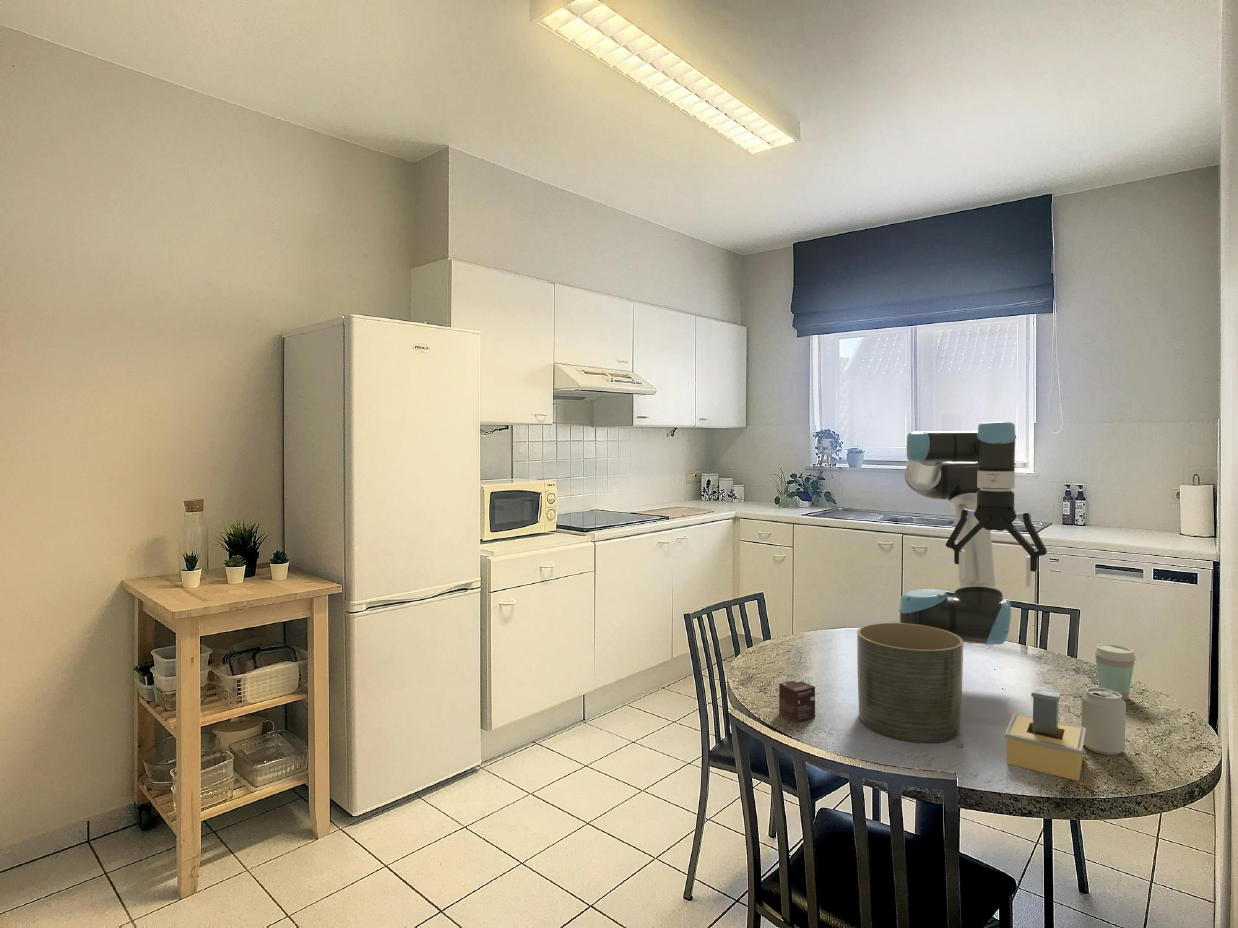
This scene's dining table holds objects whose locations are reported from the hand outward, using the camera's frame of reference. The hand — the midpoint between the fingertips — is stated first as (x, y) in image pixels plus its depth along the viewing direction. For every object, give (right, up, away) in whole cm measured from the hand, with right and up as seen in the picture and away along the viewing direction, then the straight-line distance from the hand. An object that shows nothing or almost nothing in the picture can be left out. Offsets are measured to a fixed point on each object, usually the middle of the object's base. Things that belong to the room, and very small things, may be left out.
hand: (994, 582), depth 158 cm
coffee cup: (+38, -31, +14) cm, 51 cm away
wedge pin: (0, -33, -20) cm, 38 cm away
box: (-44, -32, +4) cm, 55 cm away
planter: (-20, -32, -1) cm, 38 cm away
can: (+15, -32, -15) cm, 38 cm away
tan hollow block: (0, -33, -20) cm, 38 cm away
